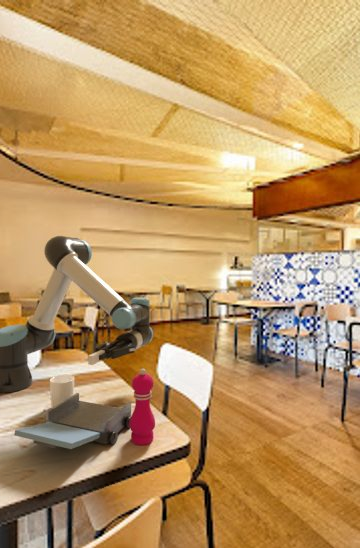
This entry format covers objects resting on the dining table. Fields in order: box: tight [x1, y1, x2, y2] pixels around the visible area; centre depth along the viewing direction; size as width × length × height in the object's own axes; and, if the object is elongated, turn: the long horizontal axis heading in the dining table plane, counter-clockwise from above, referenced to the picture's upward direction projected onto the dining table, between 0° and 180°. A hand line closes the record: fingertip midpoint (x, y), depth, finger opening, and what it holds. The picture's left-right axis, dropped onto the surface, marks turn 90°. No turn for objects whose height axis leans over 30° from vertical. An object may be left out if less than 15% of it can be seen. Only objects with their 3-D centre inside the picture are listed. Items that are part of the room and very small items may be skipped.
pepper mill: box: [129, 368, 156, 446], centre depth 87 cm, size 7×7×20 cm
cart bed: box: [45, 392, 132, 445], centre depth 93 cm, size 22×14×6 cm, turn 71°
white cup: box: [49, 374, 75, 409], centre depth 106 cm, size 8×8×10 cm
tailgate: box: [13, 421, 100, 450], centre depth 79 cm, size 17×2×12 cm
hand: (90, 360), depth 93 cm, fingers closed
